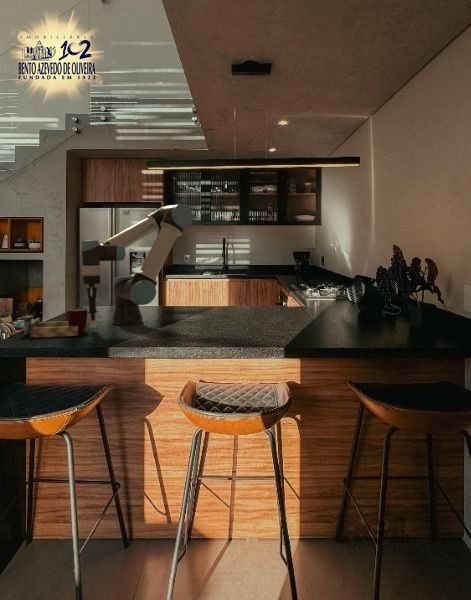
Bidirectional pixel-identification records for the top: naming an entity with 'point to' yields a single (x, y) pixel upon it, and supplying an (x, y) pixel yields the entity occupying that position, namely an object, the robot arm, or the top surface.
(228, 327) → the top surface
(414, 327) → the top surface
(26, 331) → the winch post
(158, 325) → the top surface
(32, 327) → the wooden tray
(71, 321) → the mug
